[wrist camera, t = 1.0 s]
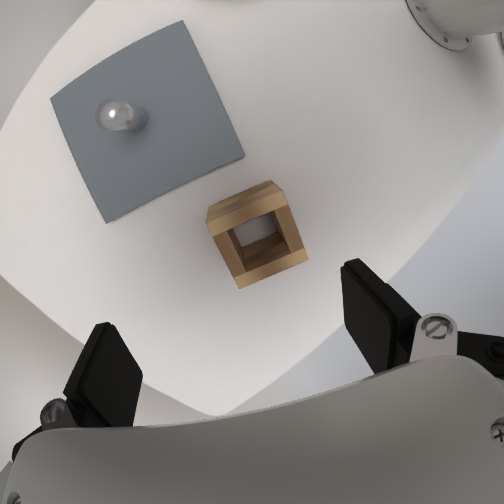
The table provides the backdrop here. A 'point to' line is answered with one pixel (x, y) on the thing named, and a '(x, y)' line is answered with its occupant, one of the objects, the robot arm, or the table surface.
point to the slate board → (157, 129)
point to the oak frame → (265, 250)
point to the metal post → (120, 116)
